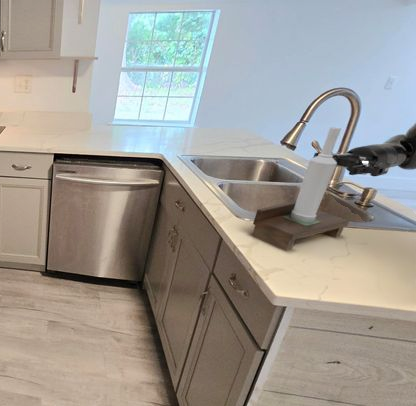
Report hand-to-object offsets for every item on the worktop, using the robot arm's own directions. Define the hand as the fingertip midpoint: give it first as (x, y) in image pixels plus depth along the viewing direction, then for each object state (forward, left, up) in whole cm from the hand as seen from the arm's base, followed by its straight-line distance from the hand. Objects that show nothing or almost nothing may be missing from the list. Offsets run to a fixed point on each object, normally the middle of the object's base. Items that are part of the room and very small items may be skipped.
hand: (331, 166), depth 95 cm
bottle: (0, +5, -15) cm, 15 cm away
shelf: (0, +5, -20) cm, 20 cm away
